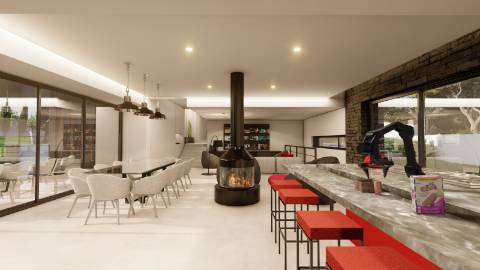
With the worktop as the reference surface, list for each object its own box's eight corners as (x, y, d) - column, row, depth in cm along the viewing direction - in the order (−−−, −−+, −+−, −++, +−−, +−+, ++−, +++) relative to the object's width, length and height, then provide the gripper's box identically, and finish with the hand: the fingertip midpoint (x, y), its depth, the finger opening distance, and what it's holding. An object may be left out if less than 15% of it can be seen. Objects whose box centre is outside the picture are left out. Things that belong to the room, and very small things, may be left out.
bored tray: (355, 188, 171) (354, 179, 171) (373, 187, 170) (372, 178, 170) (362, 192, 159) (361, 182, 159) (382, 191, 158) (381, 181, 158)
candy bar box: (416, 214, 112) (413, 177, 113) (412, 211, 117) (409, 175, 117) (446, 214, 109) (442, 176, 110) (440, 211, 114) (437, 174, 114)
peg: (375, 194, 153) (374, 180, 153) (381, 194, 151) (380, 180, 151) (374, 195, 151) (373, 181, 151) (380, 195, 149) (379, 181, 149)
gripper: (363, 154, 144) (366, 182, 144) (397, 151, 143) (400, 179, 142) (356, 153, 155) (358, 178, 155) (387, 150, 154) (390, 176, 153)
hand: (376, 178), depth 151 cm, fingers open, 9 cm apart
